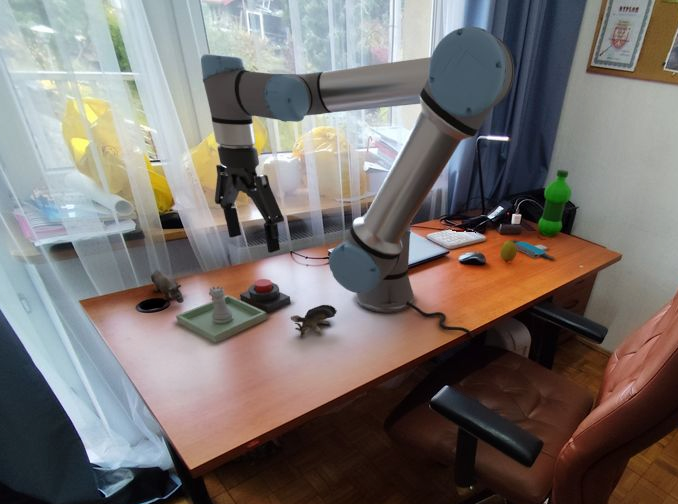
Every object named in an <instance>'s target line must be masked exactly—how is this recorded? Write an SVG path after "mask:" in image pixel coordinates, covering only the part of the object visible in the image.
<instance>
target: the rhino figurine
mask: <svg viewBox="0 0 678 504" xmlns="http://www.w3.org/2000/svg"><path fill="white" fill-rule="evenodd" d="M150 279H151V282H152V283H153V284H154V286H155V289H154V290H155V291H156V292H161V293H162V294H163V295H164V296H163V300H164V301H169V300H171V298H172V299H174V300H175V301H176V302H177V303H179V304H182V303H184V301H185V300H184V298H183V294H182V292H181V290H180V289H179V288H182V284H178V282H177V281H176V280H175V279H174V278H173V276H172V275H169V273H168V272H167V271H165V270H162V269H155V271H154V272H152V273H151V275H150ZM170 296H171V297H170Z"/></svg>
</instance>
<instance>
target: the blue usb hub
mask: <svg viewBox="0 0 678 504" xmlns="http://www.w3.org/2000/svg"><path fill="white" fill-rule="evenodd" d="M512 242H514V243H515V245H516V247H517V251H519V252H521V253H523V254H525V255H527V256H529V257H531V258H533V259H536V258H542V259H544V260H550V261H554V256H550V255H549V254H547V253H548V252H547V251H546V250H548V249H549V247H547V246H545V245H544V244H537V245H533V244H531V243H529V242H527V241H520V240H517V239H512Z"/></svg>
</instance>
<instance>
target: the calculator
mask: <svg viewBox="0 0 678 504" xmlns="http://www.w3.org/2000/svg"><path fill="white" fill-rule="evenodd" d="M475 232H476V233H475ZM475 232H466V231H464V232H456V231H452V230H450V229H446V230H440V231H435V232H432V233H428V234H426V238H427V239H428V240H429V241H432V242H433V243H435V244H438V245H439V246H441V247H443V248H445V249H448V250H454V249H457V248H463V247H465V246H471V245H474V244H477V243H481V242H485V241H486V239H487V237H486V236H485V235H484V234H482V233H479V232H477V231H475Z"/></svg>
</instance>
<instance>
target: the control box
mask: <svg viewBox="0 0 678 504" xmlns="http://www.w3.org/2000/svg"><path fill="white" fill-rule="evenodd" d="M247 289H248V290H246V291H244V292H241V293H239V298H240V300H241V301H243V302H245V303H247V304H249V305H251V306H254V307H256V308H258V309H260V310H262V311H264V312H266V314H271V313H273V312H275V311H277V310H279V309H282V308H284V307H286V306H288V305H291V303H292V302H291V296H289V295H288V294H285V293H282V292H281V291H280V287H279V284H277V283H274V282H272V290H271V291H269V292H263V293H262V292H256V291H255V286H254V283H253V284H251V285H249V287H248V288H247Z"/></svg>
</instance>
